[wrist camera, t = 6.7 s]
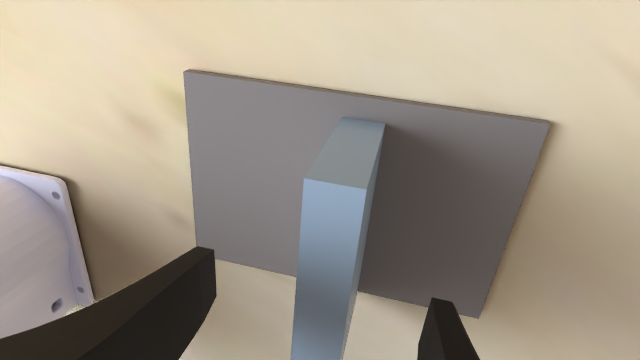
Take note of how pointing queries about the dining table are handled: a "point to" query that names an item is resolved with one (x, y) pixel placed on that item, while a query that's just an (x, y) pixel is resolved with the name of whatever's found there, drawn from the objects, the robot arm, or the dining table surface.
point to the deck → (334, 238)
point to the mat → (390, 188)
